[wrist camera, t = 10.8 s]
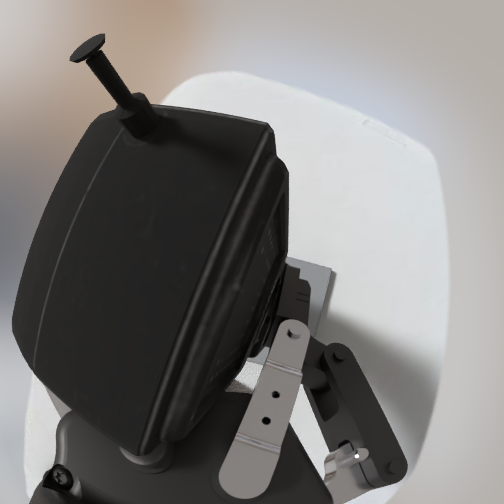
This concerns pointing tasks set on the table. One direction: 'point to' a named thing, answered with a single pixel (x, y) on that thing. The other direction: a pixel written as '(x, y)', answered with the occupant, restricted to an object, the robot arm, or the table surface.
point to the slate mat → (318, 284)
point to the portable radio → (154, 264)
